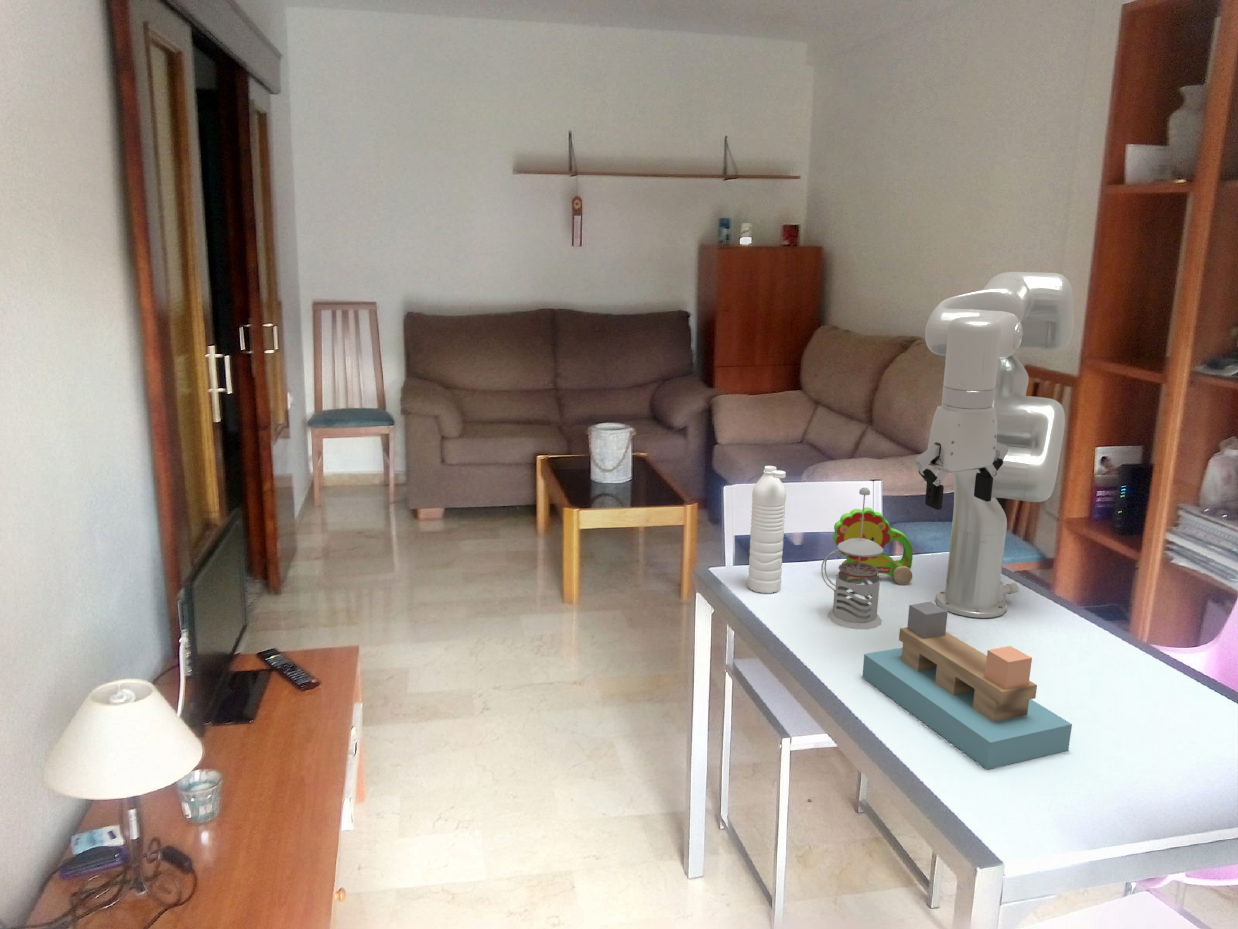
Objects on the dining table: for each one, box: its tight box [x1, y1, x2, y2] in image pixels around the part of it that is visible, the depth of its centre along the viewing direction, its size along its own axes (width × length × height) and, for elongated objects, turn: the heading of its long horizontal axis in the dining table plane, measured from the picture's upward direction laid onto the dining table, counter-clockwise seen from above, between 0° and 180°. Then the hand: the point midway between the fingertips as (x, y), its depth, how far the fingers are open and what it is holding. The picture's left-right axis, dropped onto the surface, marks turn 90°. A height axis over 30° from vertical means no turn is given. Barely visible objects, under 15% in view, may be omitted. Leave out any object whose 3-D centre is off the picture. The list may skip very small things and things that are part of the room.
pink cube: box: [985, 645, 1033, 689], centre depth 128 cm, size 4×4×4 cm
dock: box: [861, 647, 1073, 770], centre depth 138 cm, size 14×28×4 cm, turn 21°
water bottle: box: [747, 465, 787, 594], centre depth 181 cm, size 9×6×25 cm
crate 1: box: [906, 601, 949, 639], centre depth 143 cm, size 4×4×4 cm
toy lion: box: [832, 507, 914, 586], centre depth 189 cm, size 16×5×15 cm, turn 86°
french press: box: [820, 487, 884, 630], centre depth 169 cm, size 10×12×25 cm
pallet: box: [898, 626, 1038, 722], centre depth 137 cm, size 6×22×5 cm, turn 21°
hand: (957, 503), depth 148 cm, fingers open, 9 cm apart
